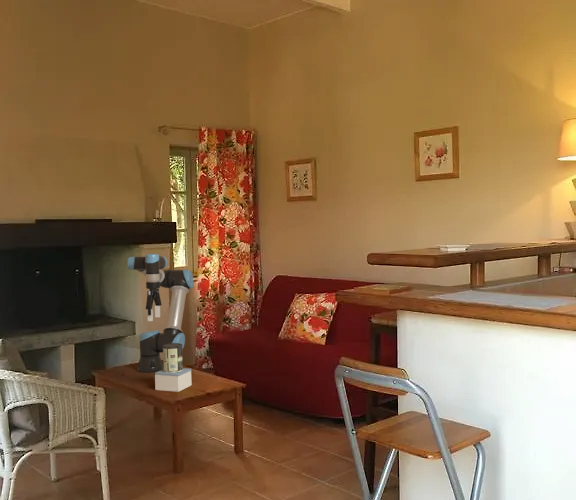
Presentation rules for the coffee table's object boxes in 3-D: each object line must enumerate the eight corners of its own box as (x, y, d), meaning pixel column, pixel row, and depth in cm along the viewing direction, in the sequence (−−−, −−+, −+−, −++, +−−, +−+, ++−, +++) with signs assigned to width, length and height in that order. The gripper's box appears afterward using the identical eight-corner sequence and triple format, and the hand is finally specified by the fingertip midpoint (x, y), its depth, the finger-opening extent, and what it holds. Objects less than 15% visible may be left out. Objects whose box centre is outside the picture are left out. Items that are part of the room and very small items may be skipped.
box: (169, 383, 358) (168, 369, 358) (191, 385, 353) (191, 370, 353) (155, 389, 345) (154, 374, 345) (178, 391, 340) (177, 376, 340)
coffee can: (177, 367, 356) (176, 342, 355) (186, 371, 348) (185, 344, 347) (160, 370, 350) (159, 344, 349) (168, 374, 341) (167, 347, 341)
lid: (169, 368, 358) (169, 367, 358) (191, 370, 353) (191, 368, 353) (155, 374, 345) (155, 372, 345) (178, 376, 340) (178, 374, 340)
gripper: (153, 279, 376) (154, 315, 377) (139, 283, 351) (140, 322, 352) (165, 279, 375) (167, 315, 376) (152, 283, 350) (153, 322, 351)
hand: (154, 319), depth 364 cm, fingers open, 13 cm apart
